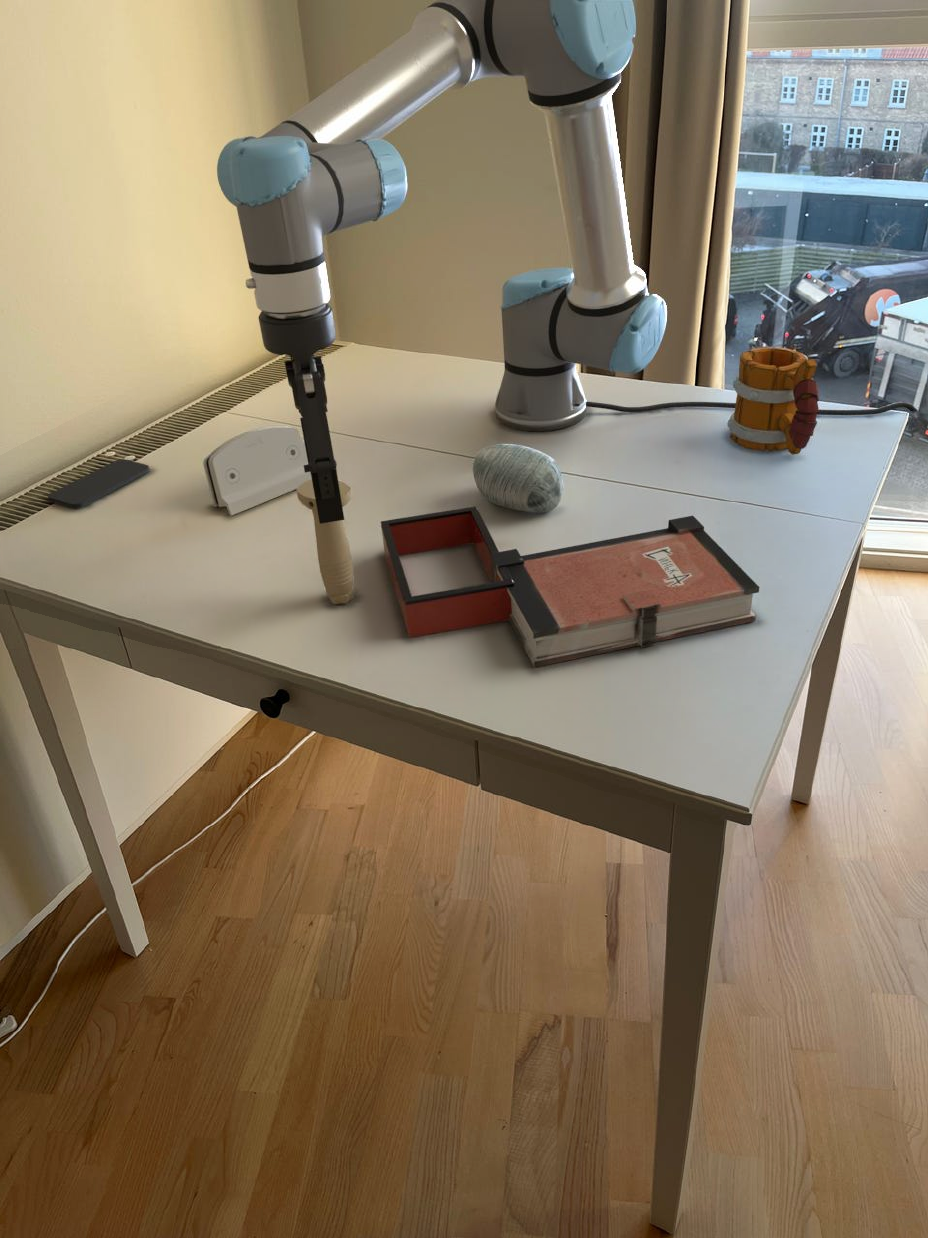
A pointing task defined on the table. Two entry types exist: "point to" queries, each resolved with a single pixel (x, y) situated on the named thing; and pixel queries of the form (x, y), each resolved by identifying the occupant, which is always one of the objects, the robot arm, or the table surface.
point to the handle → (331, 546)
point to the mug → (774, 400)
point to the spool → (518, 478)
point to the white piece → (256, 467)
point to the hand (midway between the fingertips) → (325, 493)
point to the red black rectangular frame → (447, 605)
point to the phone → (98, 483)
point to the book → (623, 592)
